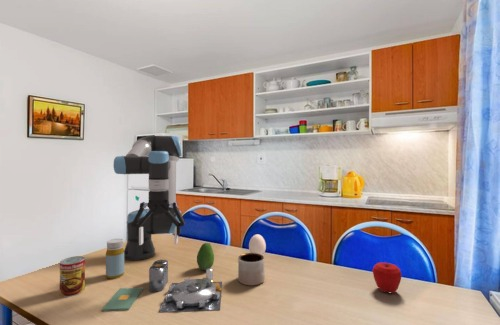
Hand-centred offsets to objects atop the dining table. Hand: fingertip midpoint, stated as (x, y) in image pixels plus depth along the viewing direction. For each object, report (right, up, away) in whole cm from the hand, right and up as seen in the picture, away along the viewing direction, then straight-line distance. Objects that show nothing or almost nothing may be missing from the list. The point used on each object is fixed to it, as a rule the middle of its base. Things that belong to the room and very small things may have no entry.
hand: (158, 243), depth 105 cm
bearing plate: (+16, -17, -8) cm, 24 cm away
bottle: (-22, -16, +9) cm, 29 cm away
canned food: (-31, -17, -5) cm, 35 cm away
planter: (+37, -17, +5) cm, 41 cm away
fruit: (+16, -17, +15) cm, 28 cm away
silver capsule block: (0, -16, 0) cm, 16 cm away
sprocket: (+16, -17, -8) cm, 24 cm away
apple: (+88, -17, -4) cm, 90 cm away
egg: (+40, -16, +31) cm, 53 cm away
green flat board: (-9, -17, -10) cm, 21 cm away
